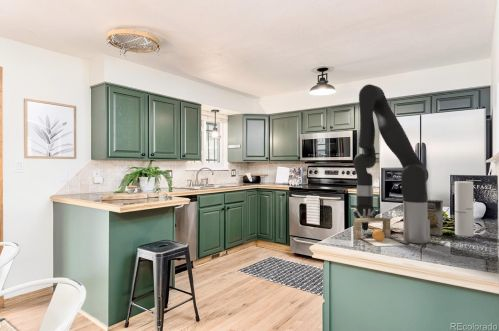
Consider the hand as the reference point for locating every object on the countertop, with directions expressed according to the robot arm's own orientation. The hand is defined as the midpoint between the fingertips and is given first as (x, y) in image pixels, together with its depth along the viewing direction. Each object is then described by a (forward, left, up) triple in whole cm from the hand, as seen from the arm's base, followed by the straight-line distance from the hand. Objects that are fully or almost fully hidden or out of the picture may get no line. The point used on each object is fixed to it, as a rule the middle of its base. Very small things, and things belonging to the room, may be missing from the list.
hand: (364, 230), depth 147 cm
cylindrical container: (-44, +9, -2) cm, 45 cm away
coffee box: (-31, +4, -2) cm, 32 cm away
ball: (+1, +15, +1) cm, 15 cm away
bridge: (+1, +8, -2) cm, 8 cm away
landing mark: (+1, +17, -2) cm, 17 cm away
